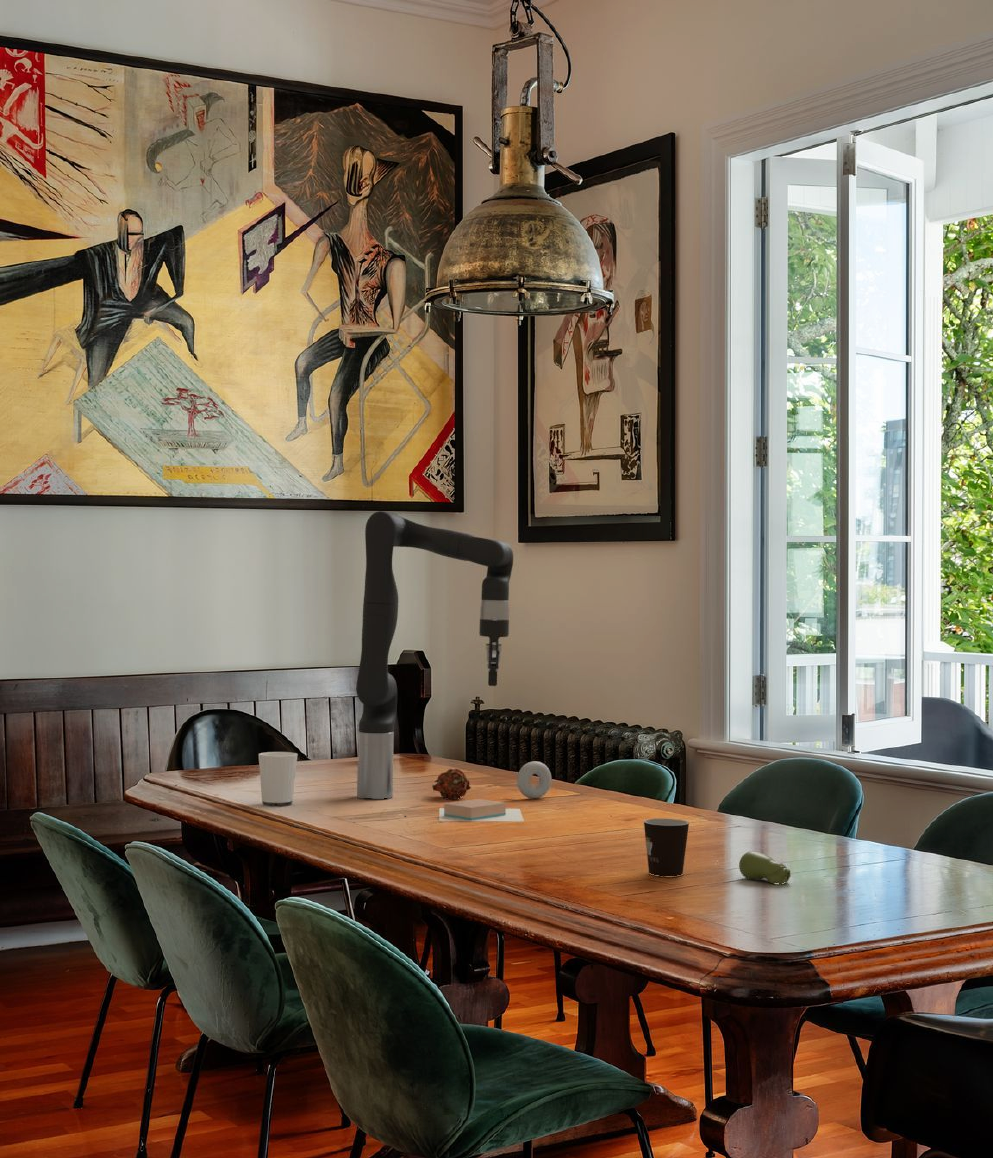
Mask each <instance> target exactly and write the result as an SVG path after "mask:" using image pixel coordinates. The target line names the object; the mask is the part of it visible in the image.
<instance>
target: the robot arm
mask: <svg viewBox="0 0 993 1158" xmlns="http://www.w3.org/2000/svg"><path fill="white" fill-rule="evenodd" d="M364 529H365V531H364V532H365V533H364V539H365V576H364V590H363V591H364V592H363V594H364V595H363V604H362V625H361V627H362V628H361V654H360V661H359V667H358V673H357V678H356V685H355V686H356V687H355V691H356V696H357V698H358V700H359V701H360V703H361V704H362V714H361V718H360V720H359V722H358V749H357V750H358V753H357V756H358V758H357V759H358V760H357V773H356V774H357V777H356V779H357V783H356V784H357V785H356V798H357V797H359V798H358V799H364V798H372V799H371V800H384V798H387V799H391V797H392V798H393V796H394V740H395V739H394V737H395V734H394V732H395V731H394V730H395V723H396V719H397V711H398V709H397V706H398V686H397V681H396V679H395V678H394V676H393V675H392V674H390V673H389V670H388V669H389V666H388V665H389V664H388V663H389V654H390V648H391V645H392V642H393V639H394V636H395V633H396V628H397V625H398V618H399V617H398V616H399V593H398V592H399V591H398V586H397V583H396V580H395V579H396V578H395V575H394V570H393V556H394V555H393V553H394V547H395V548H401V547H402V548H415V549H421V550H425V551H428V552H430V553H433V554H437V555H439V556H442V557H447V558H450V559H453V560H454V559H455V560H459V561H464V562H470V563H473V564H477V565H481V566H483V567H484V566H485V567H486V568H487V569H486V570H487V571H486V577H485V578H483V580H482V583H481V597H480V598H481V599H480V600H481V601H480V605H479V606H480V609H479V632H478V634H479V637H488V643H485V651H486V659H485V660H486V662H487V664H486V665H487V671H488V672H487V673H488V676H487V677H488V678H487V679H488V682H487V684H488V686H490V687H496V686H497V685H498V672H499V668H500V666H499V663H500V662H501V652H502V645H503V644H502V643H499V639H500V638H507V637H509V633H510V631H509V629H510V603H509V600H510V599H509V597H510V596H509V595H510V594H509V593H510V584H509V583H510V579H511V575H512V571H513V566H514V551H513V548H512V546H511V545H510V544H509V543H507V542H506V541H502V540H497V539H492V538H491V539H490V538H485V537H478V536H475V535H472V534H469V533H465V532H461V531H455V530H451V529H445V528H439V527H432V526H427V525H424V524H421V523H417V522H415V521H412V520H410V519H407V518H405V517H403V516H400V515H399V514H397V513H394V512H388V511H382V510H381V511H376V512H374V513H372V514H371V515H370V516H369V517H368V519H367V522H366V524H365V528H364Z"/></svg>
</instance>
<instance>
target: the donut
mask: <svg viewBox="0 0 993 1158" xmlns="http://www.w3.org/2000/svg"><path fill="white" fill-rule="evenodd" d="M533 775H537V776H538V783H537V784H536V785H535V786H533V785H532V784H531V782H530V781H531V780H530V779H531V777H532V776H533ZM516 783H517V784H516V785H517V788H518V790H519V792H520V793H521V794H522V795H523V796H524V797H526V798H528V799H530V798H531V800H535V799H534V798H537V799H540V798H542V797H544V796H545V795H546V794H547V793H548V791H549V790H550V788H551V786H552V773H551V771H550V768H549V767H548V766H547V765H546V764H545V763H543V762H541V761H538V760H537V761H536V760H535V761H529V762H527V763H525V764H524V765H522V767H521V768H520V769H519V771H518V774H517V777H516Z"/></svg>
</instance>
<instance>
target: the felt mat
mask: <svg viewBox="0 0 993 1158" xmlns="http://www.w3.org/2000/svg"><path fill="white" fill-rule="evenodd" d="M438 814H439V815H438V819H439V820H438V822H439V821H440V822H512V823H513V822H514V823H515V822H517V823H518V822H519V823H520V822H521V823H522V822H525V820H524V817H523V814H522V811H521V809H520V808H506V815H504V816H497V817H491V818H484V819H478V820H465V819H459V818H453V817H447V816H444V807H439V810H438Z"/></svg>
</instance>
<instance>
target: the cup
mask: <svg viewBox="0 0 993 1158" xmlns="http://www.w3.org/2000/svg"><path fill="white" fill-rule="evenodd" d="M258 763H259V764H258V766H259V777H260V778H259V779H260V790H261V791H260V793H261V802H262V804H263V805H265V804H266V806H268V807H272V806H274V805H275V804H276V805H277V806H279V807H284V806H285V804H291V805H292V803H293V800H294V791H295V790H294V789H295V782H296V781H295V780H296V773H297V764H298V753H296V752H290V751H267V752H261V753H258Z"/></svg>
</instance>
